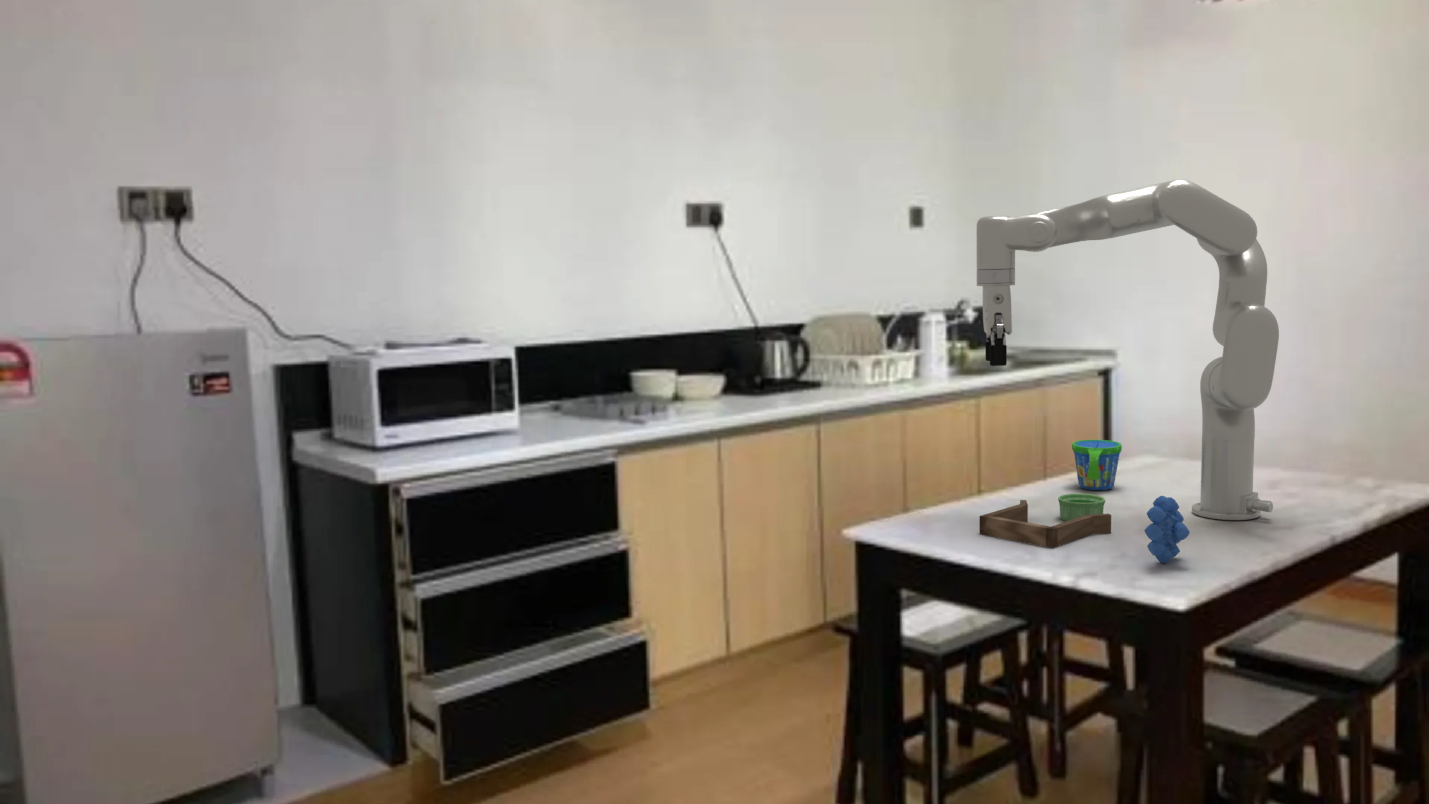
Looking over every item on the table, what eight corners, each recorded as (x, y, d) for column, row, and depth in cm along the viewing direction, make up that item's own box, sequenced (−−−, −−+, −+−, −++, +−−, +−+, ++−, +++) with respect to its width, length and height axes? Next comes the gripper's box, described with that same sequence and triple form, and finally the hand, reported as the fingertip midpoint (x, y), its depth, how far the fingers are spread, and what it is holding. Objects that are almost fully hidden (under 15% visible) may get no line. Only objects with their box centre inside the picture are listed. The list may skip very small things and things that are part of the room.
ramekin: (1104, 526, 222) (1104, 504, 221) (1056, 523, 225) (1056, 501, 224) (1105, 515, 230) (1105, 494, 230) (1059, 513, 233) (1059, 492, 233)
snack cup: (1114, 496, 246) (1115, 450, 245) (1064, 493, 251) (1065, 447, 250) (1126, 482, 260) (1127, 438, 258) (1079, 479, 265) (1079, 436, 264)
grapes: (1175, 575, 188) (1176, 503, 186) (1135, 568, 193) (1136, 498, 191) (1202, 559, 196) (1204, 491, 195) (1163, 553, 201) (1165, 486, 199)
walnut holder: (1112, 532, 216) (1113, 514, 216) (1062, 550, 205) (1063, 531, 205) (1022, 516, 231) (1022, 499, 231) (970, 532, 220) (970, 514, 220)
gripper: (1020, 279, 219) (1019, 367, 221) (1010, 276, 236) (1010, 358, 238) (980, 280, 220) (980, 367, 223) (973, 277, 237) (973, 359, 240)
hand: (995, 363), depth 230 cm, fingers open, 9 cm apart
